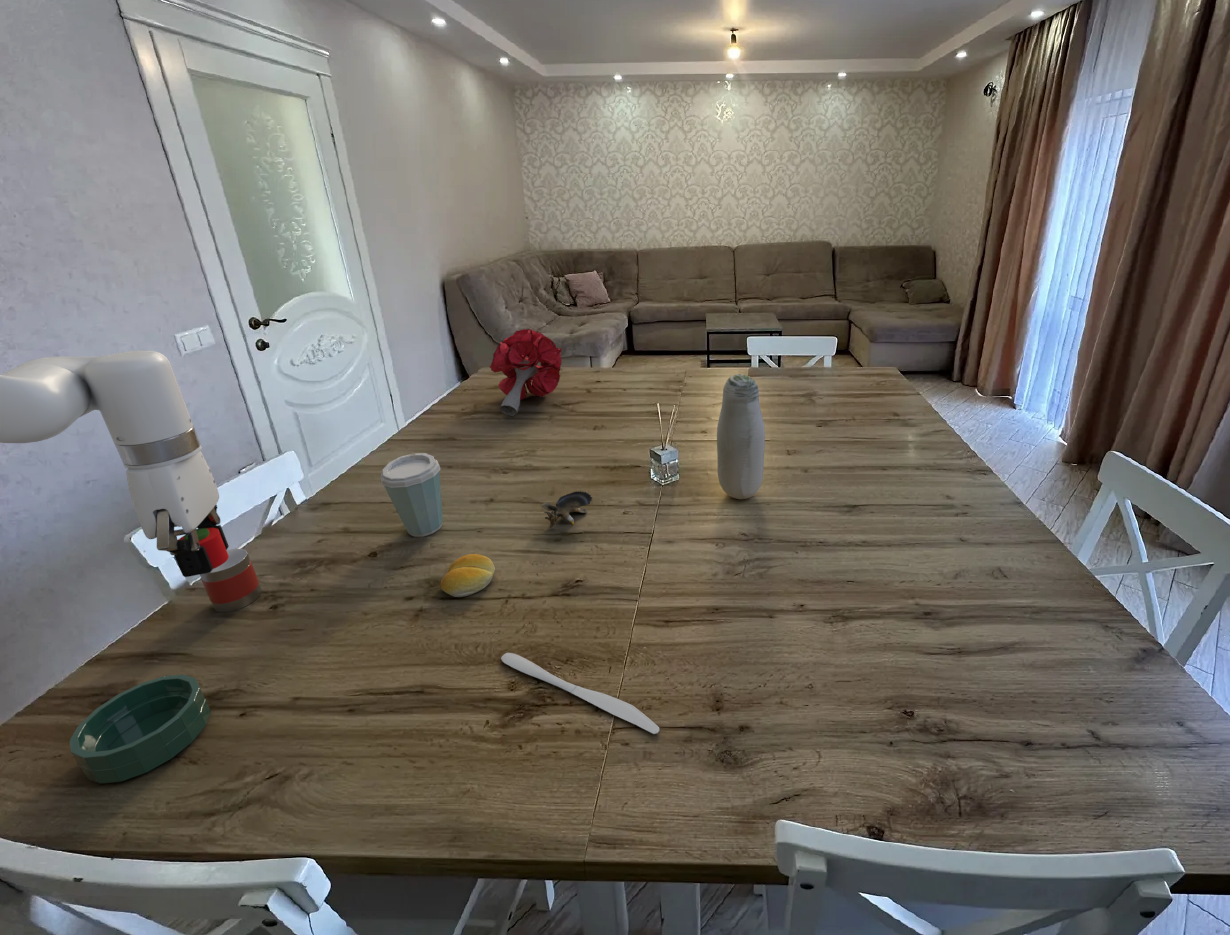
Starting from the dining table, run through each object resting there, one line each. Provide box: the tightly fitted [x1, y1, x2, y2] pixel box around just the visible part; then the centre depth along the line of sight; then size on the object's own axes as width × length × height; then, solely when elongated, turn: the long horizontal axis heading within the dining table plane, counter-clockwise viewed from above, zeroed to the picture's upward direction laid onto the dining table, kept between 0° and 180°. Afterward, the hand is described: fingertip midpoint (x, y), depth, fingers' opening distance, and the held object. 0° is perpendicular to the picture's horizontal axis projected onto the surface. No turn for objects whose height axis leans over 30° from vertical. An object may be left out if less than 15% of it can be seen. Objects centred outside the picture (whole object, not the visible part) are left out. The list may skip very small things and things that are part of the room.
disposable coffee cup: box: [380, 452, 444, 538], centre depth 110 cm, size 11×11×15 cm
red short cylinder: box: [177, 528, 229, 569], centre depth 78 cm, size 5×5×5 cm
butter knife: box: [500, 652, 660, 735], centre depth 76 cm, size 1×27×3 cm
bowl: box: [69, 673, 212, 785], centre depth 69 cm, size 11×11×5 cm
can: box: [199, 548, 263, 613], centre depth 93 cm, size 6×6×8 cm
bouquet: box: [489, 328, 563, 416], centre depth 176 cm, size 22×24×30 cm
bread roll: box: [440, 553, 496, 598], centre depth 97 cm, size 8×9×4 cm
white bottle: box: [716, 373, 766, 500], centre depth 119 cm, size 10×10×28 cm
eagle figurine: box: [540, 490, 593, 528], centre depth 114 cm, size 8×7×9 cm
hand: (206, 561), depth 78 cm, fingers closed on red short cylinder, 4 cm apart
